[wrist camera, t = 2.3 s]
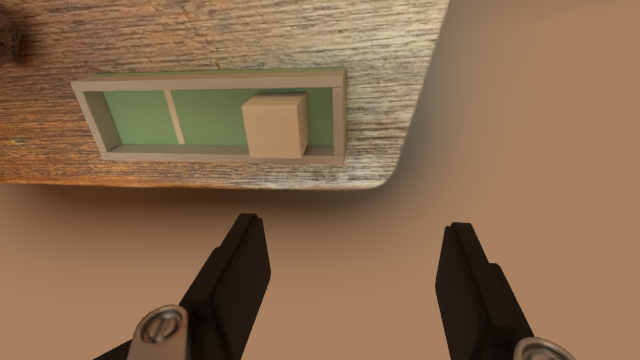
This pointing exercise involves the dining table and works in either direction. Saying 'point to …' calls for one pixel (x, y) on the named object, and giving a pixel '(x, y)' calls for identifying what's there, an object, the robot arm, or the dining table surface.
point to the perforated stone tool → (9, 40)
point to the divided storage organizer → (207, 113)
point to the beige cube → (277, 124)
